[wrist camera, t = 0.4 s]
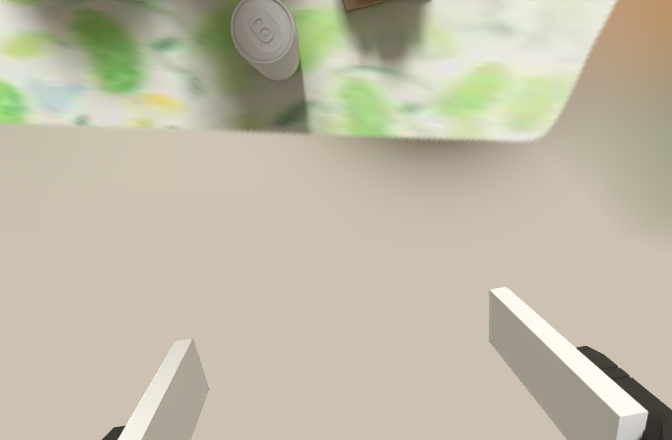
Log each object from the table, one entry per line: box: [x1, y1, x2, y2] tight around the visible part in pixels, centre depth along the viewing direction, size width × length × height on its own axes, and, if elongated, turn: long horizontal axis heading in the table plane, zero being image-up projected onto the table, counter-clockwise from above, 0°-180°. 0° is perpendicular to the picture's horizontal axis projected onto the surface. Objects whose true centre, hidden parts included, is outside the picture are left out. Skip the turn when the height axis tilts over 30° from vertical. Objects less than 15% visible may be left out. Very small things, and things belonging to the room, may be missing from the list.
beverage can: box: [230, 0, 300, 81], centre depth 30 cm, size 5×5×12 cm
